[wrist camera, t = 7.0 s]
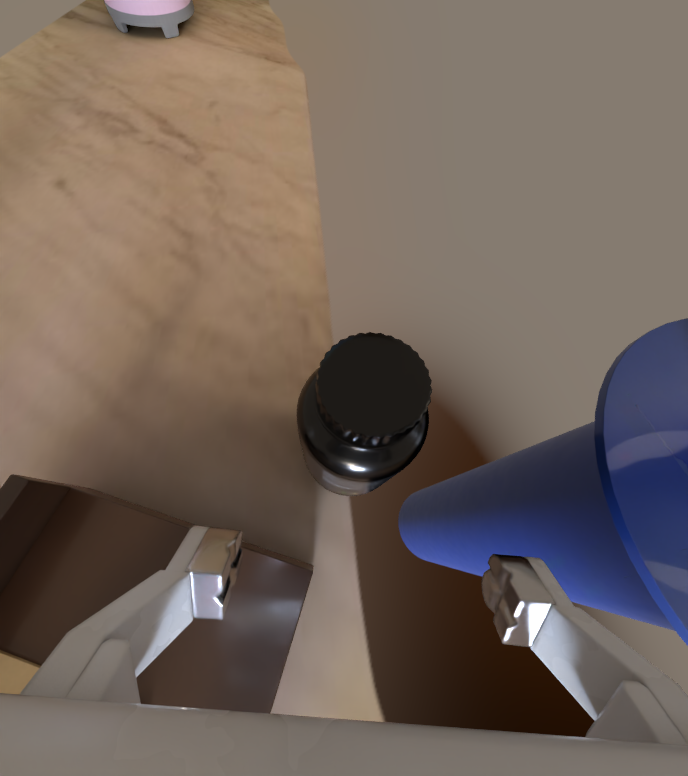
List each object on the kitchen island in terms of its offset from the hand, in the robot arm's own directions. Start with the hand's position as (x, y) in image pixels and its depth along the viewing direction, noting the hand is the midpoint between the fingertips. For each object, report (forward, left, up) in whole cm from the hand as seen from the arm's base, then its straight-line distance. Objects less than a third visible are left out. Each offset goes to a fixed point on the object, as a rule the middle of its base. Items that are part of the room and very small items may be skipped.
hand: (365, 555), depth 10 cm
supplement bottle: (+1, -6, -12) cm, 14 cm away
